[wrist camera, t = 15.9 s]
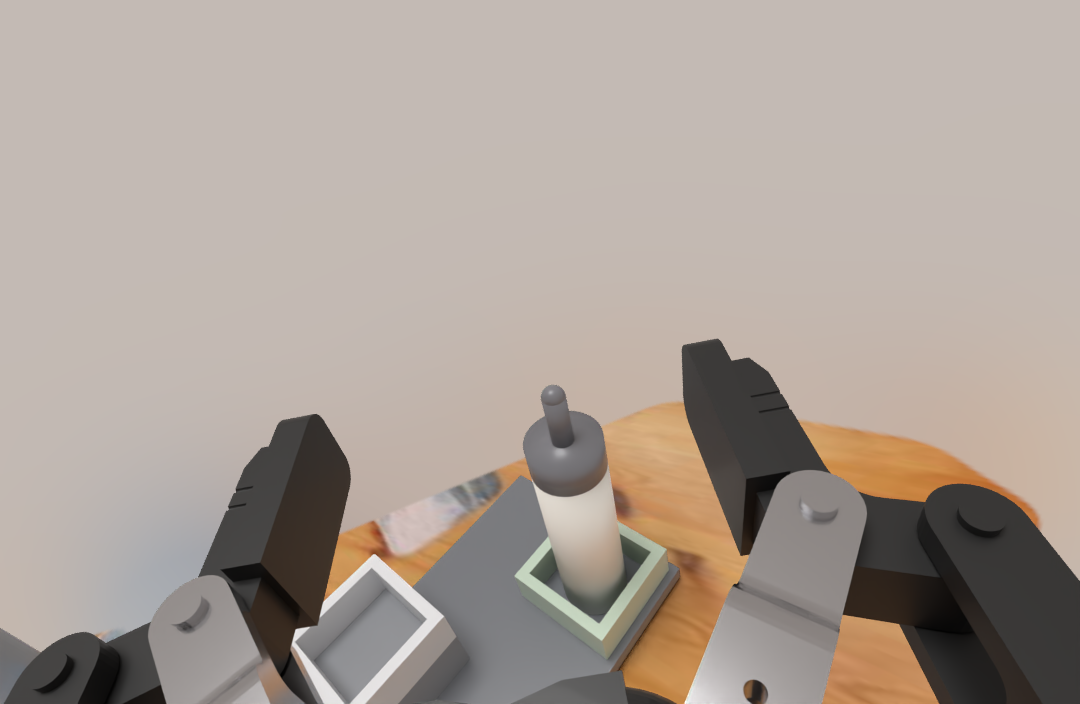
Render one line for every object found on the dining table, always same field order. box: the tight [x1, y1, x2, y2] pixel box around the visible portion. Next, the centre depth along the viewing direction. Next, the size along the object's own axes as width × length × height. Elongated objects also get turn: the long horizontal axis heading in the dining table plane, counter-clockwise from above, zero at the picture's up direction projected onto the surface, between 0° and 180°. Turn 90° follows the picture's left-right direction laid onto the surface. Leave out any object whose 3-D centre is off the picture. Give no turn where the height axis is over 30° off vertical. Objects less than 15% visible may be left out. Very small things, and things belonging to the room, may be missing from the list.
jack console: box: [292, 476, 680, 704], centre depth 35 cm, size 20×14×6 cm
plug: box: [523, 385, 627, 615], centre depth 33 cm, size 4×4×18 cm
